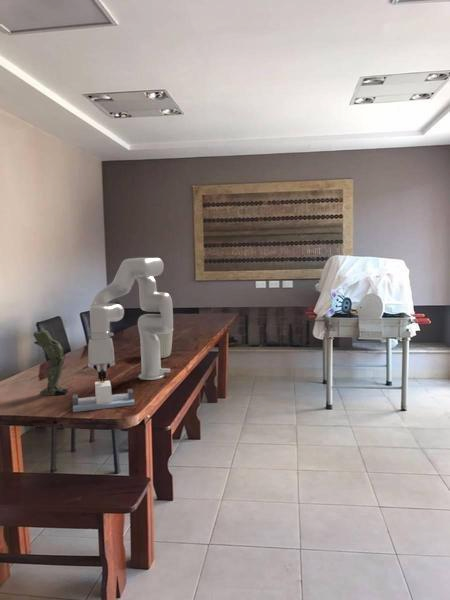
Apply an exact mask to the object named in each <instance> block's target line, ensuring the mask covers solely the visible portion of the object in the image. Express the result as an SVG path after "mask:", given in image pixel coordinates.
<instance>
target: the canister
mask: <svg viewBox="0 0 450 600" xmlns="http://www.w3.org/2000/svg"><path fill="white" fill-rule="evenodd" d="M173 333H174V328H173V329H172V331H171V332H170V333H169V334H156V335H157V337H158V338H159V341H160V359H166V358H168V357H170V355H171V354H172V347H173V346H172V345H173Z"/></svg>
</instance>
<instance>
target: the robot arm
mask: <svg viewBox="0 0 450 600" xmlns="http://www.w3.org/2000/svg"><path fill="white" fill-rule="evenodd" d="M163 272H164V261H163V260H162V259H161V258H160V257H135V258H134V257H133V258H126V259H124V260H123V261H122V262H121V264H120V266H119V267H118V270H117V272H116V273H115V276H114V279H113V280H112V282H111V283H109V284H108V285H106V286H105V287H104V288H103V289H101V290H100V291H99V292H97V294H96V295H95V296H94V299H93V300H92V302H91V305H90V308H89V323H90V325H89V326H90V339H89V340H88V347H87V348H88V349H87V351H88V352H87V355H88V356H87V358H88V365H87V367H88V368H90V369H91V368H92V369H94V370H95V371H97V373H98V374H97V376H98V377H97V378H98V380H99V381H102V380H103V381H106V380H105V379H107V370H108V369H109V368H110V367H113V366H116V362H115V349H114V343H113V338H112V337H113V336H114V335H115V333H114V332H111V329H110V322H111V323H112V322H119V321H120V320H122V319H123V318H124V316H125V308H124V307H123V305H121V304H119V303H110V302H111V301H112V300H115V299H117V298H120V297H123V296H125V295H127V294H129V293H130V292H131V290H132V288H133V285H134V283H135V280H136V281H137V283H138V291H139V292H138V293H139V306H140V309H141V310H142V311H144V312H150V313H144V314H142V315H140V316H139V317H138V319H137V328H138V333H139V338H140V341H139V342H140V358H141V360H140V362H141V364H140V365H141V373H140V374H138V378H139V380H143V381H156V380H160V379H163V378H164V377H165V373H171V368H166V367H165V368H162V365H161V364H162V363H161V360H162V358H160V341H159V338H158V337H157V335H156V334H169V333H170V332H171V331H172V329H174V311H173V310H174V309H173V299H172V296H171V295H170V294H169V293H168V292H163V291H162V292H161V291H160V292H159V291H158V289H157V281H156V279H155V277H157V276H161V275H162V273H163ZM151 312H152V313H151ZM153 312H155V313H153ZM157 312H158V314H157ZM159 313H160V314H159ZM100 365H103V366H102V368H101V366H100Z"/></svg>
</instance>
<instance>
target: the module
mask: <svg viewBox="0 0 450 600" xmlns="http://www.w3.org/2000/svg"><path fill="white" fill-rule="evenodd" d="M94 387H95V388H94V389H95V390H94V392H95V397H96V404H104V403H112V395H113V393H112V385H111V380H105V381H103V380H102V381H100V380H99V381H95V382H94Z"/></svg>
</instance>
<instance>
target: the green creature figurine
mask: <svg viewBox="0 0 450 600" xmlns="http://www.w3.org/2000/svg"><path fill="white" fill-rule="evenodd" d="M32 336H33V337H34V339H35V341H34V342H33V343H34V344H36V345H37V346H38V347H41V349H43V350H44V352H45V354H46V355H47V357H48V358H49V363H50V365H49V366H48V367H47V368H46V369H45V370H46V378H47V381H48V382H47V386H46V387H45V388H43V389H42V390H41V391H40V396H66V394H67V393H68V392H69V390H68V389H67V388H64V387H62V386H60V385H59V380H60V378H61V374H62V371H63V370H62V369H63V366H64V362H65V358H66V357H65V355H64V347H63V346H62V343H60V342H59V341H57V340H55V339H53V337H52V335H51V333H49V331H48V330H45V329H42V330H41V331H39V332H38V331H35V332H34V333H33V335H32Z"/></svg>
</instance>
